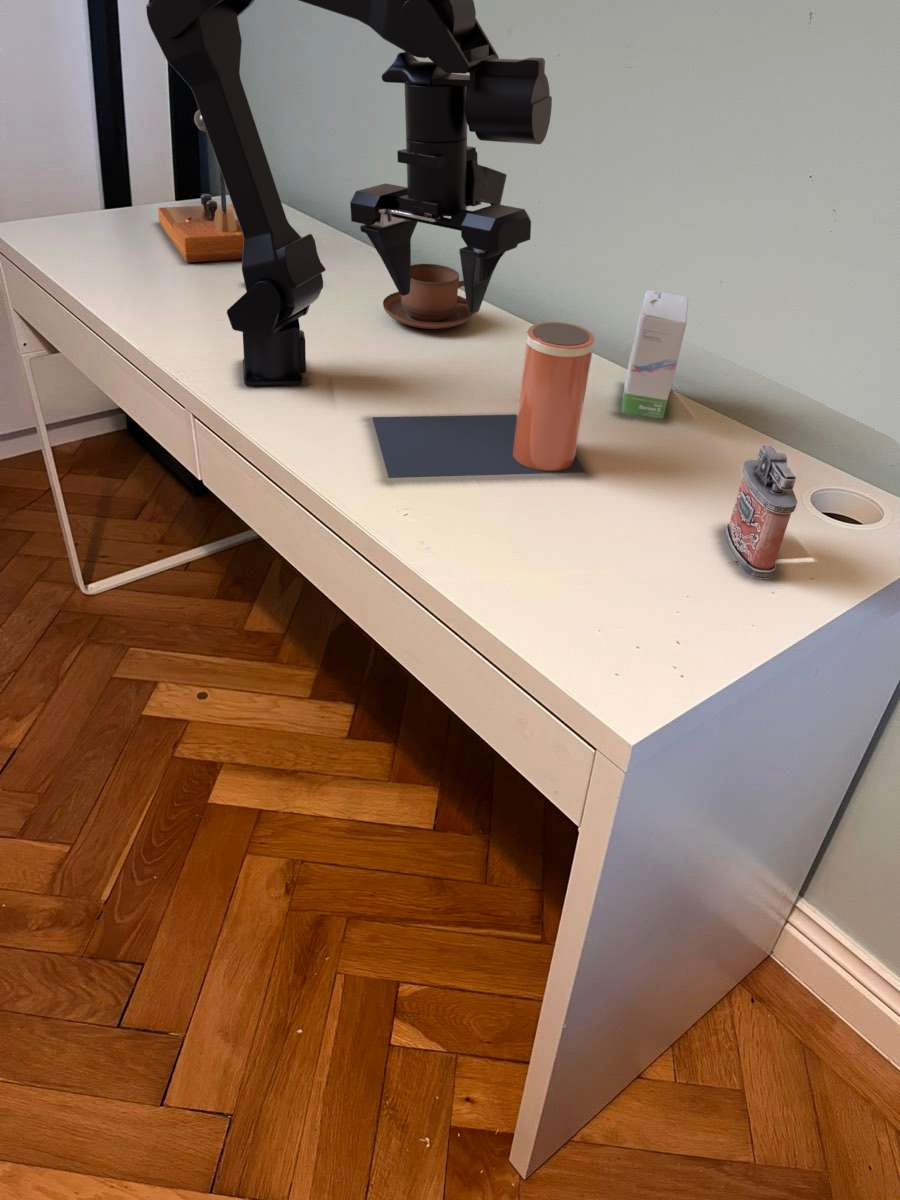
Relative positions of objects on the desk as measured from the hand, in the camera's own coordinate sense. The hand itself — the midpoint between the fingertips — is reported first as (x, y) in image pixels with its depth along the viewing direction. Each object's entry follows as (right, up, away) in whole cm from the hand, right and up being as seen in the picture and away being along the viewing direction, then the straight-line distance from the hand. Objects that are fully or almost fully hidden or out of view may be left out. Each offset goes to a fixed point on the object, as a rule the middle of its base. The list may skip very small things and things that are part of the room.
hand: (438, 303), depth 101 cm
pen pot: (+11, -15, +1) cm, 19 cm away
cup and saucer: (-2, +7, +30) cm, 31 cm away
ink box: (+24, -8, +14) cm, 28 cm away
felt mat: (+4, -14, +2) cm, 15 cm away
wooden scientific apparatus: (-32, +21, +46) cm, 60 cm away
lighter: (+28, -26, -11) cm, 40 cm away
